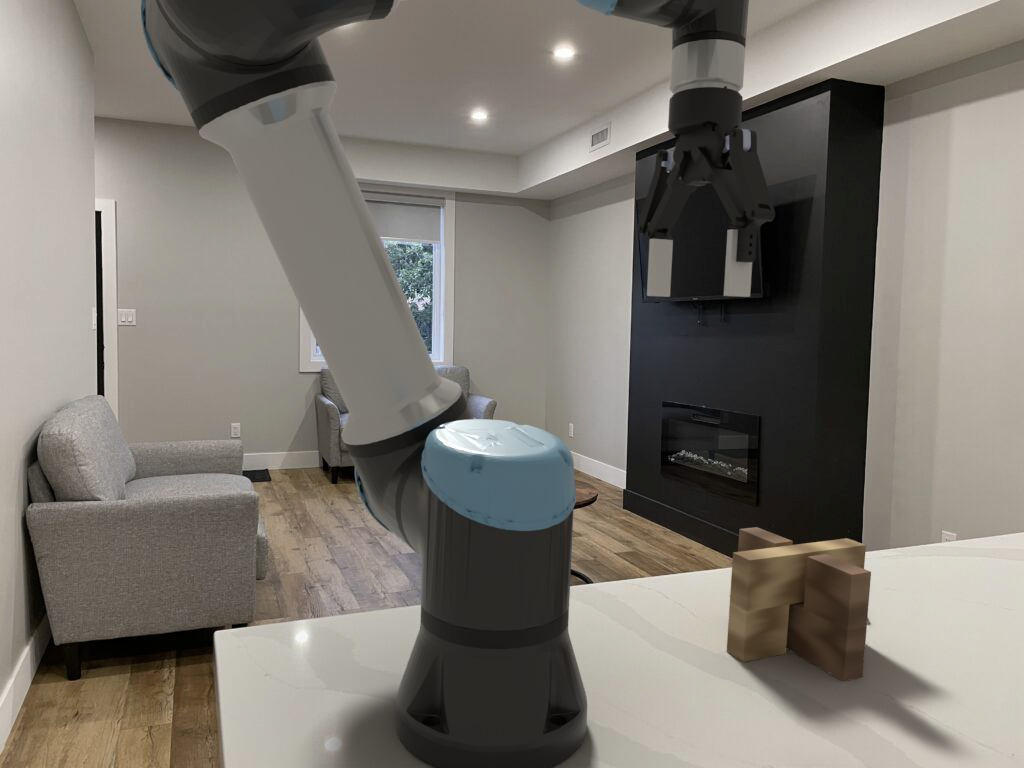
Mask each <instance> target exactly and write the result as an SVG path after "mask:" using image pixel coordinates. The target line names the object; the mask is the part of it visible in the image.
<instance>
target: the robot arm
mask: <svg viewBox="0 0 1024 768" xmlns="http://www.w3.org/2000/svg"><path fill="white" fill-rule="evenodd" d="M404 1H405V2H406V1H407V2H408V0H141V1H140V14H141V15H140V17H141V19H140V20H141V27H142V33H143V35H144V40H145V42H146V45H147V48H148V51H149V53H150V55H151V58H152V59H153V61H154V63H155V65H156V66H157V68H158V69H159V70H160V72H161V73H162V75H163V77H165V79H167V80H168V81H169V83H170V85H172V86H173V87H174V88H175V89H176V91H178V92H179V94H180V96H181V99H182V100H183V102H184V104H185V106H186V108H187V110H188V114H189V115H190V117H191V120H192V121H193V124H194V125H195V128H196V130H197V132H198V134H199V135H200V137H201V138H202V139H205V140H207V141H209V142H211V143H213V144H214V145H217V146H219V147H221V148H223V149H224V150H226V151H227V152H228V153H229V154H230V157H231V158H232V161H233V164H234V166H235V168H236V169H237V171H238V174H239V176H240V179H241V180H242V183H243V185H244V187H245V190H246V192H247V193H248V196H249V198H250V201H251V203H252V205H253V208H254V209H255V210H256V214H257V216H258V218H259V220H260V222H261V224H262V226H263V229H264V231H265V233H266V235H267V237H268V240H269V241H270V243H271V246H272V248H273V250H274V253H275V254H276V257H277V258H278V261H279V263H280V265H281V268H282V269H283V272H284V274H285V277H286V279H287V280H288V283H289V285H290V287H291V289H292V291H293V293H294V296H295V297H296V300H297V302H298V304H299V307H300V309H301V311H302V313H303V316H304V318H305V320H306V322H307V325H308V326H309V328H310V329H309V330H310V331H311V333H312V335H313V337H314V340H315V341H316V344H317V345H318V347H319V350H320V352H321V354H322V357H323V359H324V361H325V363H326V365H327V368H328V370H329V372H330V374H331V376H332V378H333V380H334V381H333V382H335V385H336V387H337V389H338V392H339V393H340V395H341V398H342V400H343V402H344V404H345V407H346V409H347V410H348V416H347V418H346V421H345V423H344V426H343V429H342V430H341V439H342V442H343V444H344V445H345V447H346V450H347V451H348V454H349V455H348V456H350V458H351V461H352V462H353V465H354V479H355V485H356V489H357V491H358V494H359V498H360V499H361V502H362V503H363V505H364V508H366V510H367V512H368V514H369V515H370V516H371V517H372V519H374V521H376V522H377V523H378V524H379V525H380V526H382V527H383V528H384V529H385V530H387V531H388V532H390V533H392V534H394V535H395V536H396V537H398V538H399V539H400V540H401V541H402V542H403V543H404V544H406V545H407V546H408V547H410V548H411V549H412V550H413V551H414V552H415V553H416V554H418V556H420V557H421V572H420V574H421V575H420V578H421V579H420V580H421V582H420V623H419V625H420V626H419V630H418V633H417V635H416V638H415V642H414V644H413V647H412V649H411V650H412V651H411V653H410V656H409V659H408V660H407V661H408V662H407V664H406V668H405V669H404V672H403V676H402V679H401V682H400V684H399V687H398V690H397V693H396V702H395V704H396V705H395V729H396V733H397V737H398V738H399V740H400V741H401V743H402V744H403V746H404V747H405V748H406V749H407V750H408V751H409V752H410V753H412V754H413V755H414V756H416V757H417V758H419V759H420V760H422V761H424V762H426V763H428V764H430V765H432V766H434V767H435V768H436V767H437V768H550V767H552V766H554V765H557V764H559V763H562V762H563V761H564V760H566V759H567V758H568V757H570V756H571V755H573V754H574V753H575V752H576V751H577V750H578V749H579V748H580V746H581V745H582V743H583V742H584V740H585V737H586V734H587V728H588V727H587V724H588V723H587V722H588V698H587V693H586V690H585V687H584V683H583V679H582V675H581V672H580V668H579V664H578V662H577V659H576V658H577V657H576V655H575V652H574V648H573V647H574V646H573V643H572V640H571V637H570V634H569V617H570V615H569V614H570V598H571V597H570V596H571V574H572V554H573V553H572V552H573V551H572V548H573V529H574V528H573V527H574V509H575V506H576V505H575V504H576V502H577V487H576V480H575V468H574V466H575V465H574V464H575V463H574V457H573V454H572V452H571V450H570V448H569V447H568V446H567V444H566V443H565V442H564V441H563V440H562V439H561V438H559V437H558V436H557V435H555V434H552V433H551V432H549V431H547V430H545V429H542V428H539V427H536V426H532V425H530V424H517V423H516V422H514V421H508V420H502V419H501V420H500V419H487V418H485V419H484V418H482V419H481V418H479V419H477V418H474V416H473V413H472V411H471V408H470V405H469V404H468V401H467V399H466V396H465V394H464V392H463V389H462V387H461V385H460V384H459V383H458V382H455V381H454V380H450V379H448V378H446V377H442V376H441V375H439V374H438V372H437V370H436V368H435V365H434V363H433V360H432V357H431V355H430V353H429V351H428V348H427V346H426V344H425V341H424V339H423V337H422V335H421V334H422V333H421V332H420V329H419V326H418V325H417V322H416V320H415V317H414V314H413V312H412V310H411V308H410V305H409V303H408V301H407V299H406V295H405V293H404V291H403V288H402V286H401V283H400V281H399V280H398V279H399V278H398V277H397V274H396V272H395V270H394V267H393V265H392V262H391V260H390V257H389V254H388V252H387V250H386V248H385V246H384V243H383V241H382V238H381V236H380V233H379V231H378V228H377V227H376V224H375V222H374V219H373V217H372V214H371V212H370V210H369V208H368V204H367V203H366V200H365V197H364V194H363V192H362V191H361V188H360V185H359V184H358V181H357V178H356V176H355V174H354V171H353V169H352V166H351V164H350V162H349V159H348V157H347V154H346V152H345V150H344V147H343V144H342V142H341V140H340V138H339V135H338V133H337V130H336V128H335V126H334V123H333V121H332V118H331V115H330V114H331V113H330V112H331V111H330V110H331V107H332V104H333V101H334V99H335V96H336V93H337V91H338V85H337V81H336V80H335V77H334V75H333V72H332V70H331V67H330V65H329V62H328V60H327V58H326V55H325V53H324V50H323V47H322V45H321V43H320V40H319V37H321V36H322V35H324V34H326V33H328V32H330V31H333V30H335V29H337V28H340V27H343V26H347V25H350V24H354V23H359V22H366V21H374V20H376V21H377V20H384V19H389V18H390V17H391V16H393V14H394V12H395V11H396V9H397V7H398V6H399V4H400V3H401V2H404ZM576 1H577V2H578V4H579V5H580V6H582V7H584V8H586V9H591V10H593V11H597V12H599V13H603V14H604V16H607V17H609V16H613V17H619V18H622V19H627V20H632V21H636V22H641V23H646V24H649V25H650V24H651V25H654V26H657V27H662V28H666V29H670V30H672V31H671V32H672V33H671V39H672V40H671V42H672V43H671V45H672V46H671V60H670V61H671V62H670V76H669V90H670V92H671V93H672V95H671V96H670V99H669V100H668V101H669V105H668V121H667V122H668V123H667V124H668V125H667V127H668V131H669V132H670V133H671V134H672V135H673V136H674V137H675V138H676V143H675V147H674V149H673V150H669V149H668V150H666V149H658V150H657V153H656V158H655V165H654V166H655V168H654V173H653V175H652V179H651V182H650V185H649V189H648V192H647V195H646V198H645V201H644V205H643V208H642V210H641V215H640V218H639V220H638V224H637V229H636V232H637V234H638V235H642V236H645V238H646V239H647V240H648V242H647V243H648V244H647V245H648V246H647V267H648V268H647V284H646V285H647V286H646V288H647V289H646V296H647V297H664V298H665V297H666V298H667V297H668V298H670V297H671V289H672V288H671V285H672V284H671V283H672V266H673V265H672V264H673V250H674V249H673V247H674V246H673V245H674V243H673V242H674V240H673V237H672V235H671V233H672V231H673V228H674V226H675V225H676V223H677V221H678V219H679V217H680V215H681V213H682V211H683V209H684V208H685V205H686V203H687V201H688V200H689V198H690V195H691V194H692V193H694V192H696V191H697V189H698V187H704V186H706V185H707V184H711V185H712V187H713V188H714V191H715V192H716V194H717V196H718V198H719V200H720V201H721V203H722V205H723V208H724V209H725V211H726V213H727V215H728V216H729V218H730V220H731V222H730V224H729V225H728V227H729V228H732V229H727V233H726V234H727V235H726V250H725V251H726V252H725V253H726V254H725V265H724V266H725V267H724V283H723V297H742V298H747V297H749V298H750V297H751V289H752V288H751V287H752V274H753V273H752V272H753V263H754V262H755V260H756V256H757V255H756V254H757V239H758V230H759V229H761V227H762V225H763V224H765V223H766V222H773V220H774V219H775V217H776V211H775V207H774V204H773V202H772V197H771V194H770V191H769V188H768V185H767V181H766V178H765V174H764V170H763V167H762V165H761V161H760V158H759V155H758V145H757V144H758V143H757V139H758V137H757V132H756V130H753V129H752V130H751V129H747V128H746V129H745V128H741V127H742V115H743V113H742V112H743V100H744V99H743V96H742V94H741V93H740V91H741V90H742V89H743V87H744V76H745V73H744V71H745V60H746V54H745V53H746V45H747V44H746V42H747V31H748V30H747V28H748V14H749V6H750V5H749V2H750V0H576Z"/></svg>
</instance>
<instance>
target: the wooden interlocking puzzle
mask: <svg viewBox="0 0 1024 768" xmlns="http://www.w3.org/2000/svg"><path fill="white" fill-rule="evenodd" d="M866 547H867V545H866V544H865V543H861V542H858V541H857V540H854V539H850V538H847V537H845V538H840V539H839V538H838V539H831V540H822V541H816V542H807V543H799V544H793V545H789V546H781V547H773V548H765V549H757V550H749V551H741V552H738V551H735V552H733V551H732V564H731V577H730V578H731V579H730V592H729V593H730V594H729V607H728V608H729V609H728V624H727V640H726V653H729V654H730V655H731V656H733V657H734V658H736V659H737V660H739V661H740V662H743V663H746V662H749V661H751V662H752V661H756V660H760V659H765V658H770V657H774V656H779V655H785V654H787V649H786V645H787V631H788V618H789V604H795V603H801V602H804V597H805V584H806V570H807V557H809V556H816V555H824V554H827V555H829V556H832V557H835V558H837V559H840V560H842V561H845V562H847V563H850V564H852V565H855V566H858V567H860V568H863V569H865V563H866V562H865V561H866V549H867V548H866Z"/></svg>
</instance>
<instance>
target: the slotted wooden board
mask: <svg viewBox="0 0 1024 768" xmlns="http://www.w3.org/2000/svg"><path fill="white" fill-rule="evenodd" d="M738 529H739V530H738V531H739V533H738V545H737V552H741V551H749V550H757V549H765V548H773V547H781V546H789V545H794V544H793V543H794V542H793V540H791V539H788V538H786V537H783V536H780V535H778V534H776V533H773V532H771V531H768V530H765V529H763V528H760V527H758V526H755V527H745V528H738ZM871 576H872V571H870V570H867V569H865V568H864V569H863V568H860V567H858V566H855V565H852V564H850V563H847V562H845V561H842V560H840V559H837V558H835V557H832V556H829V555H827V554H824V555H816V556H809V557H807V570H806V584H805V597H804V602H801V603H795V604H789V618H788V631H787V645H786V650H789V652H792V653H794V654H796V655H797V656H799V657H800V658H802V659H804V660H805V661H807V662H809V663H811V664H813V665H814V666H816V667H817V668H820V669H821V670H824V672H827V673H828V674H830V675H832V676H834V677H836V678H837V679H839V680H841V681H843V682H845V681H846V682H847V681H850V680H855V679H858V678H859V679H860V678H863V675H864V665H865V654H866V653H865V652H866V651H865V650H866V639H867V629H868V628H867V627H868V619H867V617H868V615H869V604H870V602H869V601H870V592H871V591H870V590H871V579H872V578H871Z"/></svg>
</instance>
